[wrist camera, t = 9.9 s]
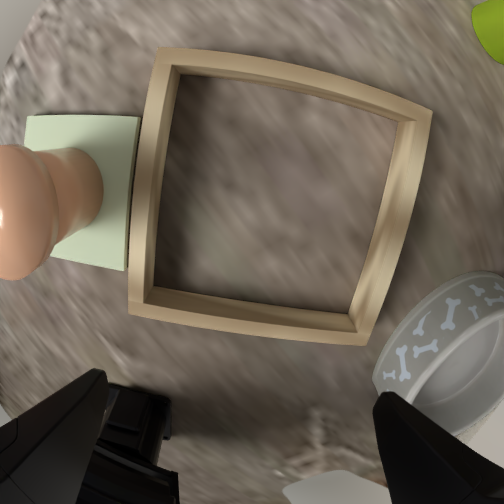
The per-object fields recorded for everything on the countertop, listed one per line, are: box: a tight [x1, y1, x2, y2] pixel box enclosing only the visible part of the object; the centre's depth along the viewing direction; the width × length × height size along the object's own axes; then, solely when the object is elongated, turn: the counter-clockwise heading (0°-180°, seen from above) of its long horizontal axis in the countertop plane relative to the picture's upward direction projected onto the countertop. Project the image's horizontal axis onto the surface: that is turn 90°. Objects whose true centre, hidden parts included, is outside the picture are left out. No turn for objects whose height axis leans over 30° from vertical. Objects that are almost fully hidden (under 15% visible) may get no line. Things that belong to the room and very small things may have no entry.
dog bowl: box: [372, 271, 504, 436], centre depth 22 cm, size 17×18×5 cm
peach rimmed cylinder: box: [0, 144, 104, 280], centre depth 14 cm, size 7×7×7 cm
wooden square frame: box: [128, 47, 433, 346], centre depth 18 cm, size 16×16×2 cm
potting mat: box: [24, 115, 141, 271], centre depth 18 cm, size 10×9×1 cm
